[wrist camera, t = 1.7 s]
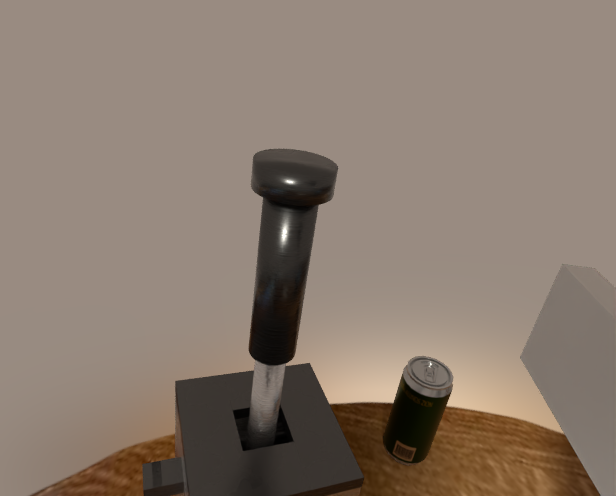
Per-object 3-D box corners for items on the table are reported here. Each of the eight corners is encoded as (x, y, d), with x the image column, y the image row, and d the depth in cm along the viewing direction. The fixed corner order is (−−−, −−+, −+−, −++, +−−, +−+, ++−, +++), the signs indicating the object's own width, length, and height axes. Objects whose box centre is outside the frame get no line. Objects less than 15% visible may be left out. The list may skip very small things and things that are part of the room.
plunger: (286, 447, 42) (337, 142, 29) (317, 535, 35) (400, 191, 22) (195, 465, 39) (206, 136, 26) (209, 564, 32) (234, 191, 19)
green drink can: (427, 473, 52) (457, 396, 47) (380, 460, 53) (404, 382, 48) (426, 435, 57) (453, 361, 52) (383, 424, 58) (405, 349, 52)
